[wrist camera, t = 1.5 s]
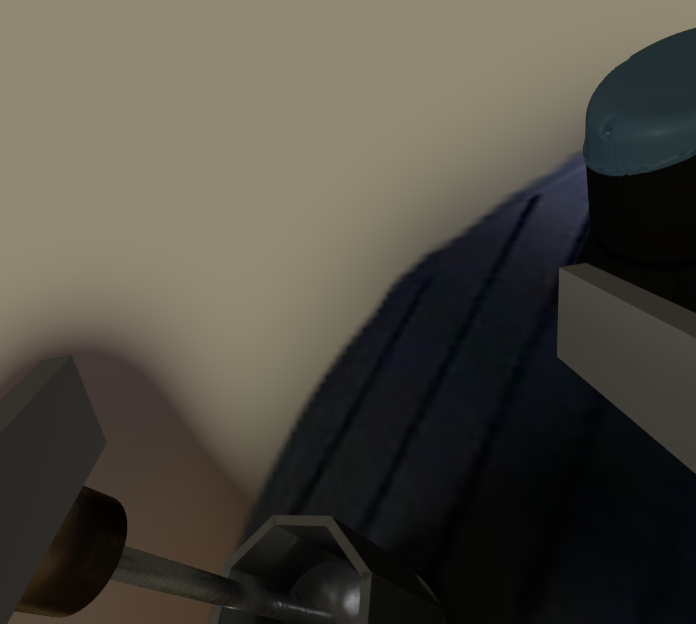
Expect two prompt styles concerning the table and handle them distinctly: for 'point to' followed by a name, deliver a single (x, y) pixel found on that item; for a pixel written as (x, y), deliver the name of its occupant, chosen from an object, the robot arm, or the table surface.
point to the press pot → (321, 547)
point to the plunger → (169, 574)
